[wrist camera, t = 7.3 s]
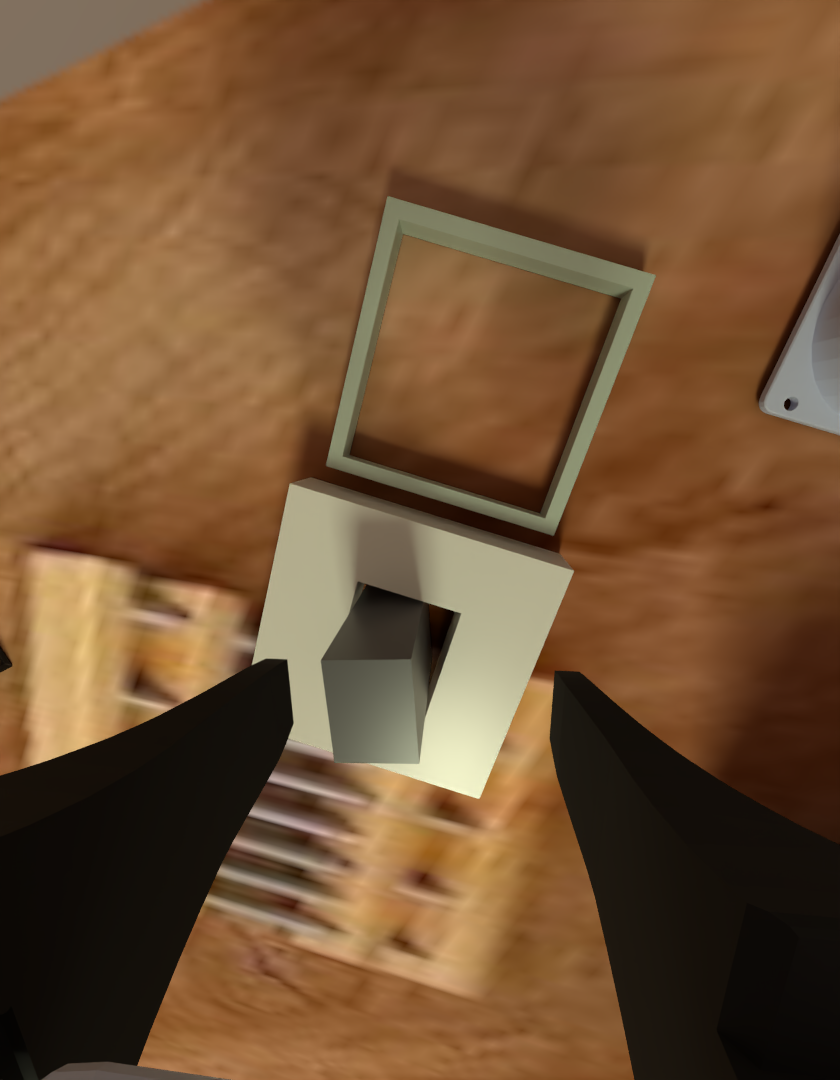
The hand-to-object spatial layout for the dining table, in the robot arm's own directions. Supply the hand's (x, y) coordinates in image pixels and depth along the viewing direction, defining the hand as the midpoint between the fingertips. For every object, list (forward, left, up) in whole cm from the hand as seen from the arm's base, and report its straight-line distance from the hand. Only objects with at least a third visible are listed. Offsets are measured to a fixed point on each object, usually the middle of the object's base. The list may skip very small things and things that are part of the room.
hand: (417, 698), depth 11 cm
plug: (+1, +3, -9) cm, 10 cm away
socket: (+1, +3, -9) cm, 10 cm away
